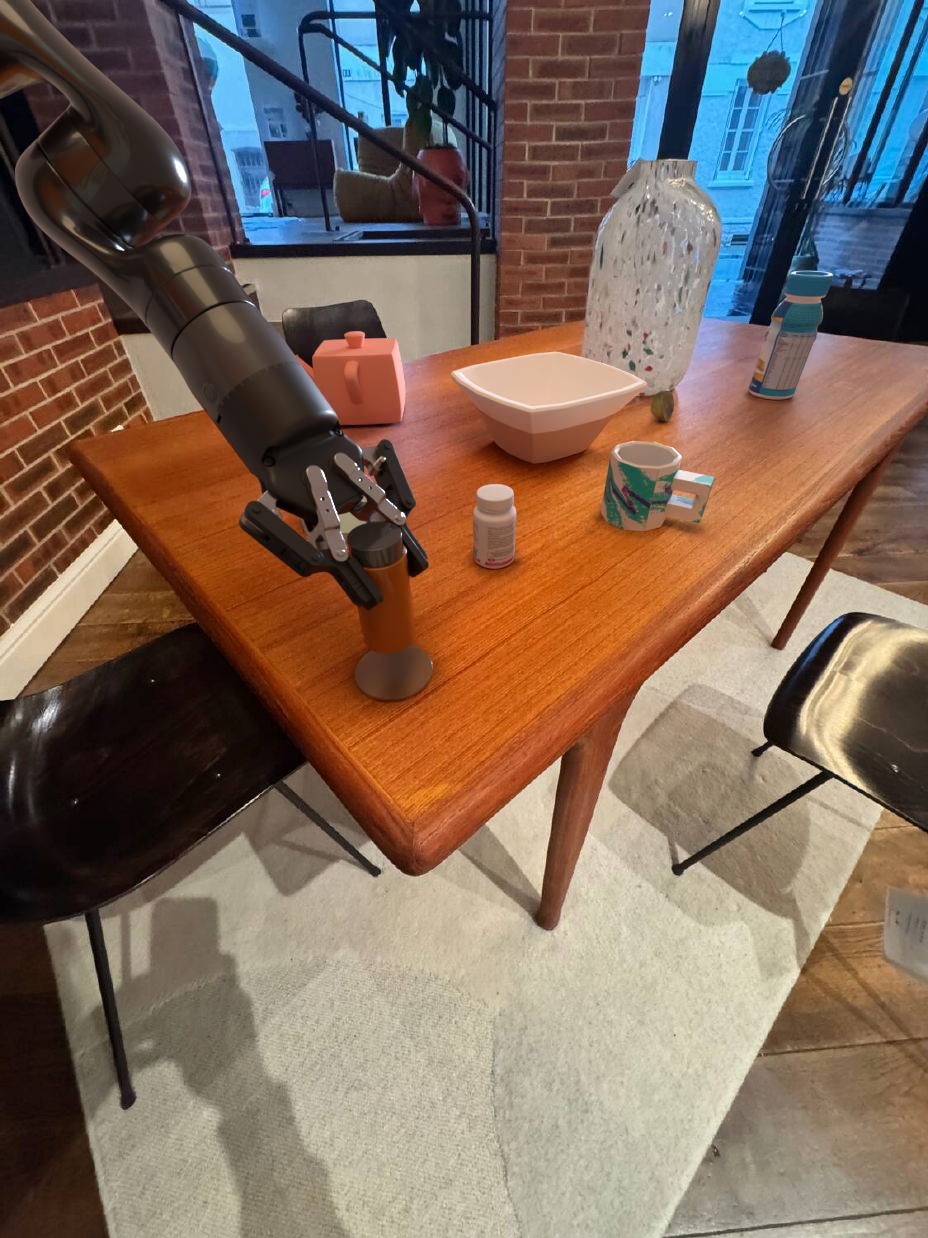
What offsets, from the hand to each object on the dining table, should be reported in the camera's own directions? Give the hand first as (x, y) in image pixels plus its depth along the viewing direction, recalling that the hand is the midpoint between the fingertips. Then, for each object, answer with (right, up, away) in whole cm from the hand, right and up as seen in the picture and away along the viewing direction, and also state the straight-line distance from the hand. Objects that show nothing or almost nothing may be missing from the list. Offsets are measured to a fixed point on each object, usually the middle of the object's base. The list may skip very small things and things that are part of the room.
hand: (398, 587), depth 40 cm
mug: (+29, +10, +28) cm, 41 cm away
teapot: (-16, +36, +58) cm, 70 cm away
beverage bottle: (+65, +42, +63) cm, 100 cm away
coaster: (-1, -7, +8) cm, 11 cm away
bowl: (+18, +26, +46) cm, 56 cm away
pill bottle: (+8, +5, +21) cm, 23 cm away
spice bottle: (-1, -4, +5) cm, 6 cm away
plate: (-10, +11, +30) cm, 33 cm away
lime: (+40, +33, +54) cm, 75 cm away
